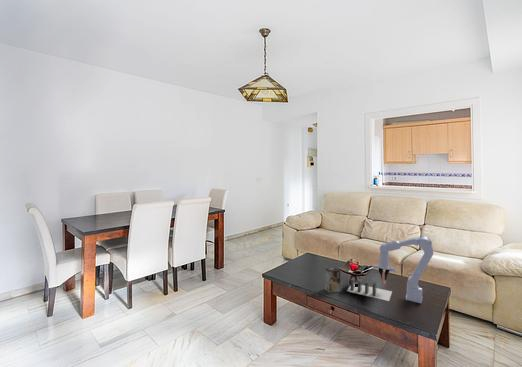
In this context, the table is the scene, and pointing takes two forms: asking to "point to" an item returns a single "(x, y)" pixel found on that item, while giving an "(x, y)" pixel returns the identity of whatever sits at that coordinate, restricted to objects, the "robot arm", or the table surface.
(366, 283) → the domino
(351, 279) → the domino
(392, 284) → the table surface
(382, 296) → the grey mat
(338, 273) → the coffee box
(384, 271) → the domino
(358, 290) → the domino
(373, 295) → the domino
